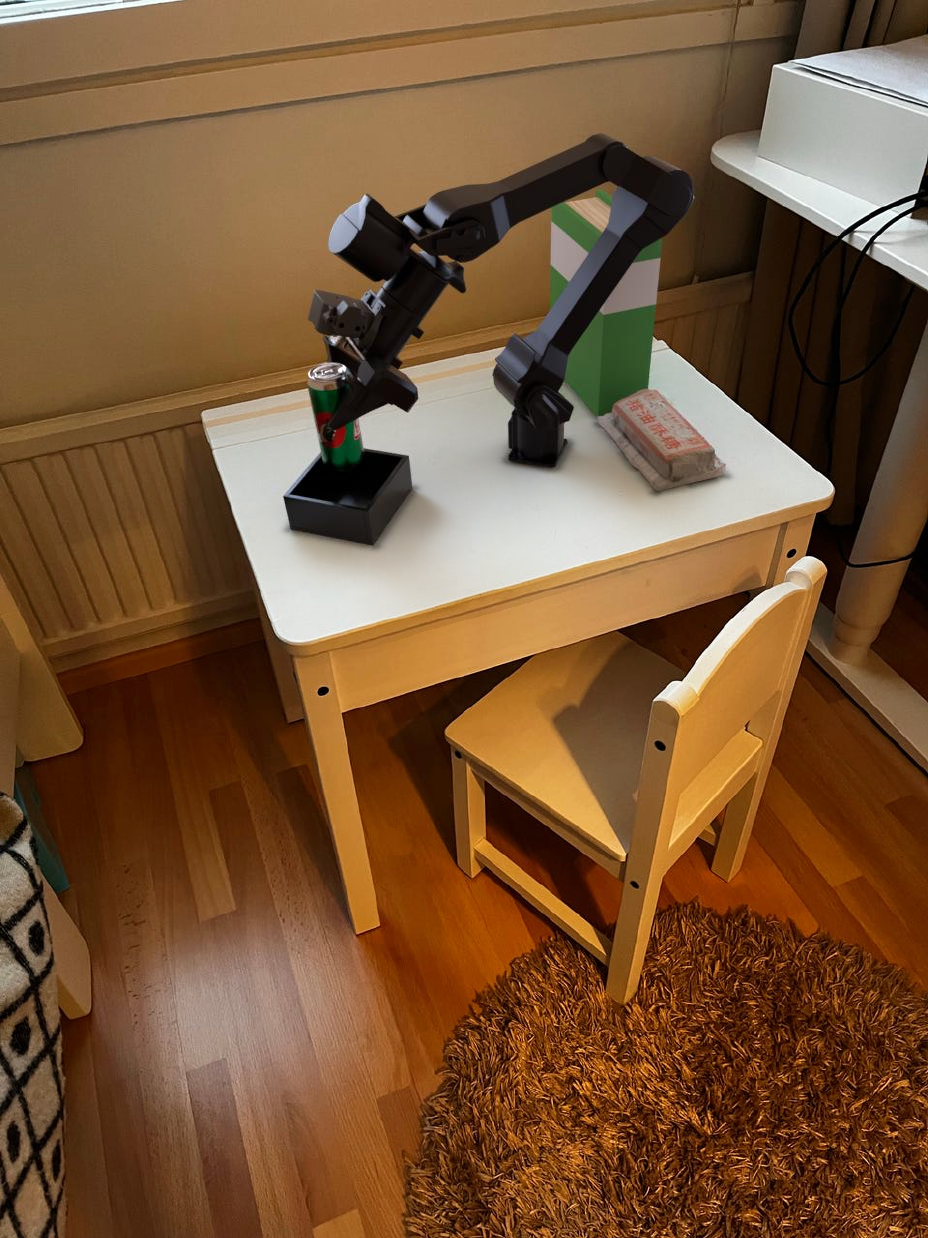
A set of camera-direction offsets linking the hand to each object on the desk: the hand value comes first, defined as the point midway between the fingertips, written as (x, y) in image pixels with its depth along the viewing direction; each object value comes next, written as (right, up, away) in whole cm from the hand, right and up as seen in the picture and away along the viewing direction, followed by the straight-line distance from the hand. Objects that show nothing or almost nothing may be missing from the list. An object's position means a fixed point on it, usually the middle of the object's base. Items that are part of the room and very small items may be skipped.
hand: (324, 417), depth 105 cm
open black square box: (+2, -9, +9) cm, 13 cm away
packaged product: (+42, -1, +15) cm, 45 cm away
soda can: (+2, -4, +5) cm, 7 cm away
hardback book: (+35, +11, +29) cm, 47 cm away
